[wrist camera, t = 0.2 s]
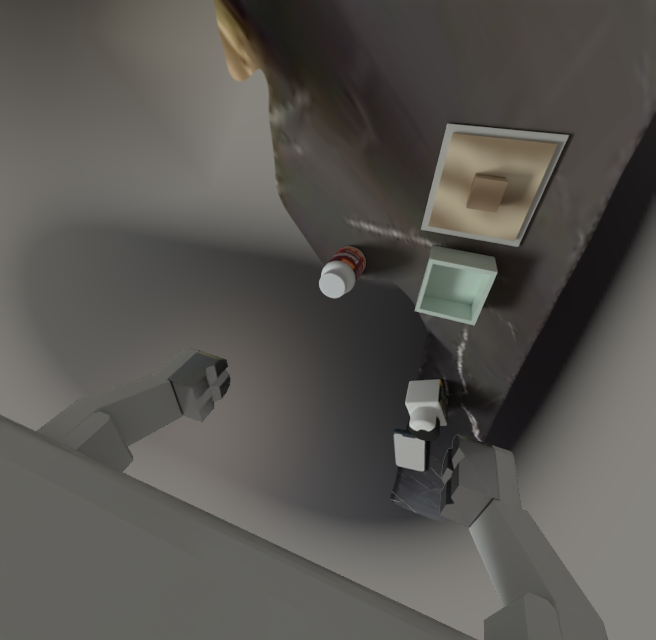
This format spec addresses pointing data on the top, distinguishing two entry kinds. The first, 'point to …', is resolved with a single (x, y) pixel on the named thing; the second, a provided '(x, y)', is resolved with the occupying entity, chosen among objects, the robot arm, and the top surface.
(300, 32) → the top surface
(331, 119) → the top surface
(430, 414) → the medicine bottle
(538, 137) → the mat
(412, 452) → the phone case
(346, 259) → the pill bottle
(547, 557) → the robot arm
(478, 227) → the lid
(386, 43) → the top surface
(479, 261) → the pale green storage bin
